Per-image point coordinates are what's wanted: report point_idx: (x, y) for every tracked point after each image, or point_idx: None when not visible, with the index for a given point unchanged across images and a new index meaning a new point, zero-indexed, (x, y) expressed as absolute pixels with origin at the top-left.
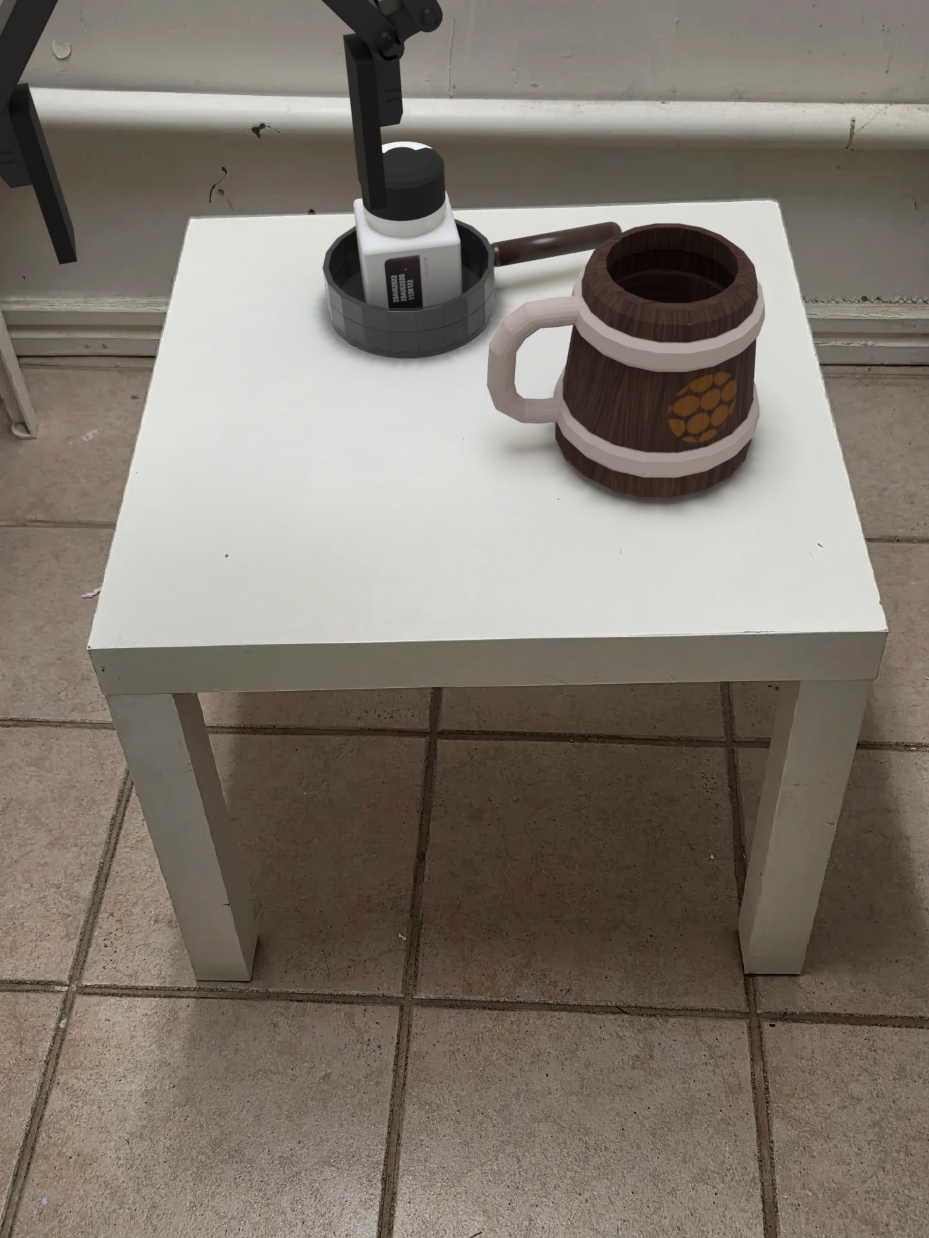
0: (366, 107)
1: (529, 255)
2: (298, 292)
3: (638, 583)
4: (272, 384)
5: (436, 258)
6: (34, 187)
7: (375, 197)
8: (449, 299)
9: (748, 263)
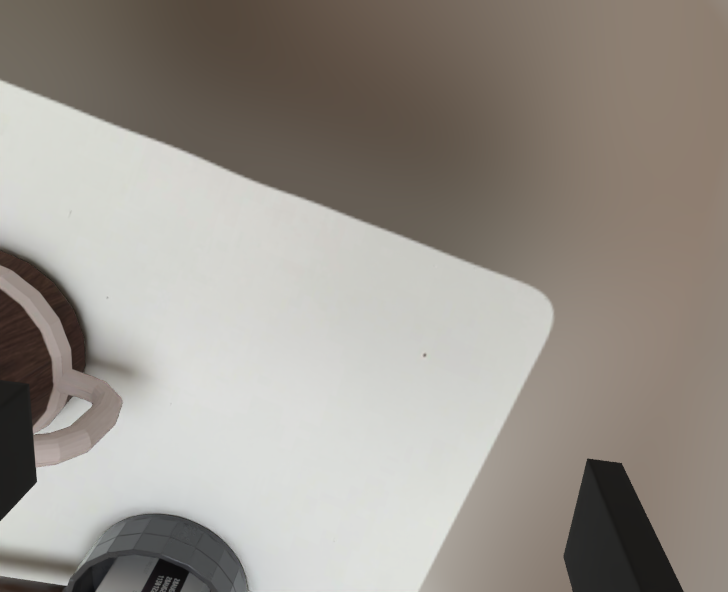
0: None
1: (32, 585)
2: None
3: (66, 169)
4: (323, 539)
5: None
6: (675, 580)
7: (3, 394)
8: (126, 563)
9: None
